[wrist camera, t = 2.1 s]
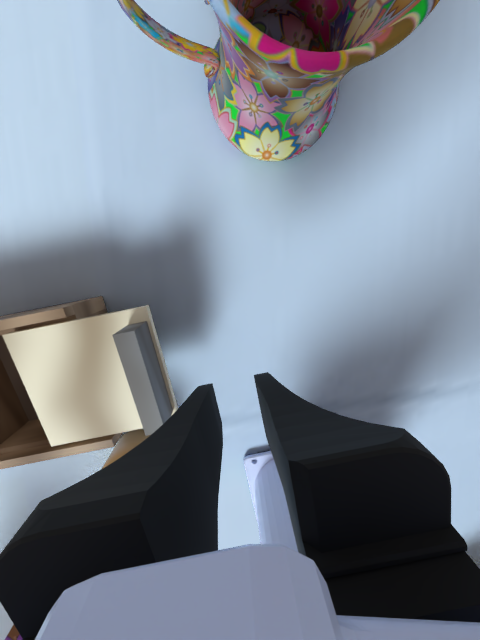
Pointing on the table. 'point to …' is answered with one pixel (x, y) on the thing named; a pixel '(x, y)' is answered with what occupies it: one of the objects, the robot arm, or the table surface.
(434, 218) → the table surface
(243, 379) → the table surface
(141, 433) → the roll-on deodorant
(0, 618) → the milk bottle
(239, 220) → the table surface
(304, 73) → the mug
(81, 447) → the wooden box
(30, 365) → the lid
